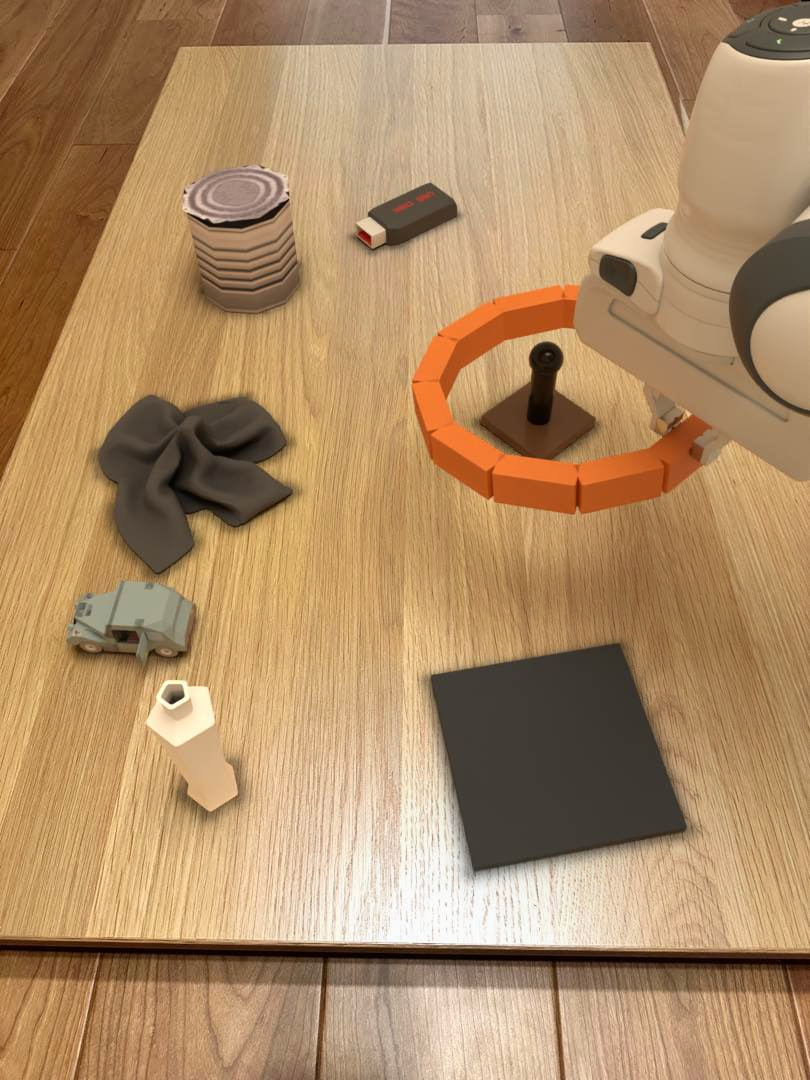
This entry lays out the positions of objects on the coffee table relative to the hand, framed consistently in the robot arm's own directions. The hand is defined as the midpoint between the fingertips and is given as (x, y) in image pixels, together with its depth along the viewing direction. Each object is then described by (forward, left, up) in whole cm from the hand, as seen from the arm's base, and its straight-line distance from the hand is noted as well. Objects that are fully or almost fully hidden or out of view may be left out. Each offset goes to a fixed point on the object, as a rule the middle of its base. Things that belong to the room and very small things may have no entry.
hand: (683, 443), depth 71 cm
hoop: (+6, -9, -4) cm, 11 cm away
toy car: (+44, -2, -19) cm, 48 cm away
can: (+30, -49, -19) cm, 60 cm away
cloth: (+38, -21, -19) cm, 47 cm away
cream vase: (+38, +11, -19) cm, 44 cm away
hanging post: (+4, -21, -18) cm, 28 cm away
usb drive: (+11, -56, -19) cm, 59 cm away
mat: (+12, +13, -18) cm, 26 cm away
